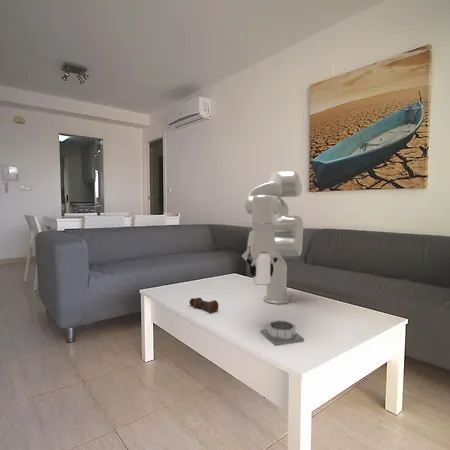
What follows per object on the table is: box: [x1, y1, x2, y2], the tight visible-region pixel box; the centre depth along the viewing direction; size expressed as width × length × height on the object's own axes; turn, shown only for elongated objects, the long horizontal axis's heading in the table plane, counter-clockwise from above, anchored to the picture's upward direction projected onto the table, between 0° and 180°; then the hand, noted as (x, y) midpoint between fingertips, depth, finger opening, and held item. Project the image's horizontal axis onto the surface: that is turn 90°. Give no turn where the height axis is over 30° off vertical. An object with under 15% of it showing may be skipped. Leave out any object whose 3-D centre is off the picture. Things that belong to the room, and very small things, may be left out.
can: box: [252, 253, 270, 286], centre depth 115 cm, size 6×6×12 cm
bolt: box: [189, 297, 219, 314], centre depth 136 cm, size 6×5×15 cm
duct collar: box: [260, 320, 305, 346], centre depth 106 cm, size 11×11×4 cm
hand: (261, 275), depth 115 cm, fingers closed on can, 6 cm apart
